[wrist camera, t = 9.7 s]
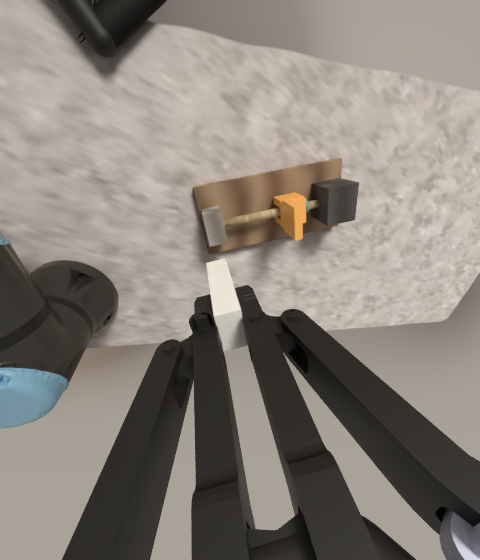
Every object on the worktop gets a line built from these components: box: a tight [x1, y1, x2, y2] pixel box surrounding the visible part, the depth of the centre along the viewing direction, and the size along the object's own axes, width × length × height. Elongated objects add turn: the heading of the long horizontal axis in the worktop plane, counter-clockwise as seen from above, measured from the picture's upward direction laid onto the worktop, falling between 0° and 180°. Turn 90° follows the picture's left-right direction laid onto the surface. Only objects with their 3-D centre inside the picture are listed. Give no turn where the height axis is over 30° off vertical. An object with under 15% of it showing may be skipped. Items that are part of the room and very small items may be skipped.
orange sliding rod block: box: [273, 192, 306, 241], centre depth 38 cm, size 4×5×10 cm
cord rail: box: [193, 158, 359, 254], centre depth 40 cm, size 26×12×8 cm, turn 99°
